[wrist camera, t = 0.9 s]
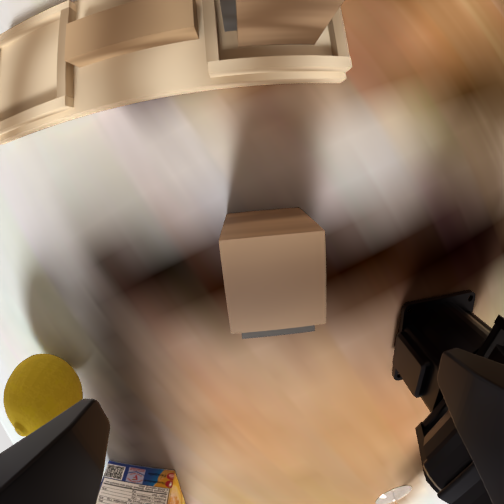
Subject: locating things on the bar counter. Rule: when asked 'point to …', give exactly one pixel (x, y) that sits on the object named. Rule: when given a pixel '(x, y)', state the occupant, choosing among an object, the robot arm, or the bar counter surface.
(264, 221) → the beige cardboard cube
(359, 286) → the bar counter surface
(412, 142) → the bar counter surface
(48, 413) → the lemon
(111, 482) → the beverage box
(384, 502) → the wineglass
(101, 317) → the bar counter surface
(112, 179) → the bar counter surface
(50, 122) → the rail
